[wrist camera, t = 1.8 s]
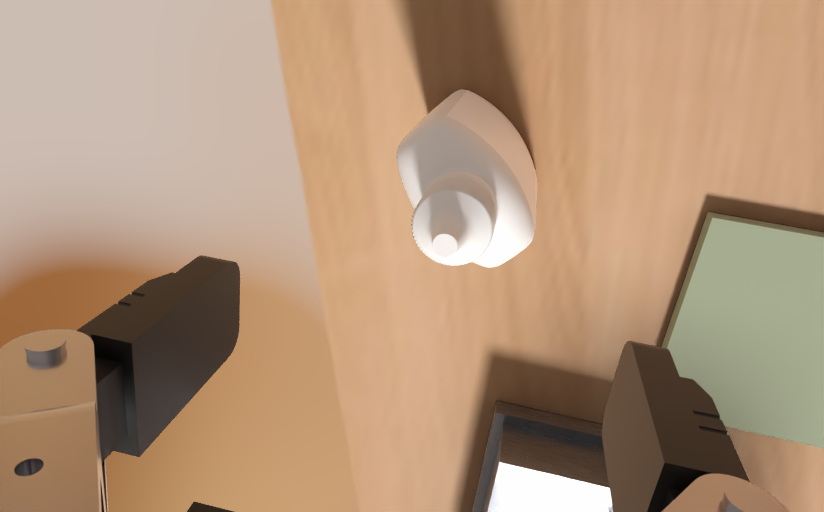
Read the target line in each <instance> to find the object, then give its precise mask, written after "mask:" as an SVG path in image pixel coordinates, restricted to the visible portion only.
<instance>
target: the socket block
mask: <svg viewBox="0 0 824 512" xmlns="http://www.w3.org/2000/svg"><path fill="white" fill-rule="evenodd" d="M472 512H613V509H612V502H611V495H610V488H609V482H608V475H607V468H606V461H605V454H604V448H603V441H602V424H598V423H593V422H589V421H584V420H580V419H576V418H571V417H567V416H562V415H558V414H553V413H549V412H544V411H540V410H536V409H531V408H527V407H522V406H518V405H513V404H509V403H505V402H500V401H497V402H496V406H495V410H494V415H493V419H492V424H491V428H490V433H489V437H488V441H487V446H486V450H485V455H484V459H483V464H482V468H481V472H480V477H479V481H478V486H477V490H476V495H475V499H474V503H473V508H472Z"/></svg>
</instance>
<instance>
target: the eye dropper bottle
mask: <svg viewBox="0 0 824 512" xmlns="http://www.w3.org/2000/svg"><path fill="white" fill-rule="evenodd" d="M396 159H397V164H398V169H399V173H400V176H401V179H402V182H403V185H404V188H405V190H406V193H407V195H408V197H409V199H410V201H411V203H412V205H413V207H414V209H415V211H414V215H413V216H412V217H413V219H412V224H411V225H412V230H413V232H412V233H413V234H414V236H413V237H414V238H415V241H416V242H417V245H418V246H419V248H420V249H421V251H422V252H424V254H426V255H427V257H430V259H433V260H434V261H437V262H438V263H441V264H445V265H450V266H451V265H454V266H455V265H458V266H459V265H460V264H461V265H464V264H467V263H468V262H470V263H471V261H472V262H474V263H476V264H478V265H481V266H483V267H489V268H492V267H496V266H499V265H501V264H503V263H505V262H506V261H508V260H509V259H511V258H513V257H514V256H516V255H517V254H518V253H520V252H521V251H522V250H524V249H525V248H526V247H528V245H529V244H530V243H531V242H532V240H533V238H534V232H535V223H536V205H537V177H536V172H535V168H534V165H533V161H532V159H531V156H530V153H529V151H528V149H527V147H526V145H525V143H524V141H523V139H522V137H521V136H520V134H519V133H518V131H517V130H516V128H515V127H514V126H513V124H512V123H511V122H510V121H509V120H508V119H507V118H506V116H505V115H504V114H503V113H501V112H500V111H499V110H498V109H497V108H496V107H495V106H493V105H492V104H491V103H490V102H488V101H487V100H485V99H484V98H482V97H481V96H479V95H477V94H475V93H473V92H471V91H469V90H463V89H461V90H458V91H456V92H454V93H452V94H451V95H450V96H449V97H447V98H446V99H445V100H444V101H442V102H441V103H440V104H439V105H438V106H436V107H435V108H434V109H433V110H432V111H431V112H430V113H429V114H428V115H427V116H426V117H424V118H423V119H422V120H421V121H420V122H419V123H418V124H417V125H416V126H415V127H414V128H413V129H412V130H411V131H410V132H409V133H408V134H407V136H406V137H405V138H404V139H403V140H402V141H401V143H400V145H399V146H398V148H397V156H396Z"/></svg>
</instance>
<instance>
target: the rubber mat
mask: <svg viewBox="0 0 824 512" xmlns="http://www.w3.org/2000/svg"><path fill="white" fill-rule="evenodd" d="M661 347H662V348H667V349H669V351H670V353H671V356H672V358H673V361H674V363H675V366H676V369H677V371H678V374H679V376H680V377H684V378H689V379H693V380H694V381H695V382H697V383H698V384H699V385H700V386H701V387H702V388H703V389H704V390H705V391H706V392H707V393H708V394H709V395H710V396H711V397H712V399H713V401H714V403H715V406H716V408H717V410H718V412H719V415H720V420H722V421H723V424H724V426H725V427H729V428H733V429H738V430H742V431H747V432H751V433H756V434H760V435H765V436H770V437H774V438H779V439H783V440H788V441H792V442H797V443H801V444H806V445H810V446H815V447H819V448H824V232H819V231H813V230H808V229H802V228H796V227H791V226H785V225H780V224H774V223H768V222H763V221H757V220H751V219H746V218H740V217H735V216H729V215H723V214H718V213H712V212H708V213H707V215H706V218H705V221H704V224H703V227H702V230H701V233H700V236H699V239H698V242H697V245H696V247H695V250H694V253H693V256H692V259H691V262H690V265H689V268H688V271H687V274H686V277H685V279H684V282H683V285H682V288H681V291H680V294H679V297H678V300H677V303H676V306H675V309H674V311H673V314H672V317H671V320H670V323H669V326H668V329H667V332H666V335H665V338H664V341H663V343H662V346H661Z"/></svg>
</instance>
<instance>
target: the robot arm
mask: <svg viewBox="0 0 824 512" xmlns="http://www.w3.org/2000/svg"><path fill="white" fill-rule="evenodd" d="M239 304H240V271H239V266H238V265H237V263H236V262H232V261H227V260H222V259H217V258H212V257H207V256H199V257H197V258H196V259H194V260H193V261H192V262H190V263H189V264H187V265H186V266H184V267H183V268H182V269H180V270H179V271H178V272H176V273H170V274H167V275H164V276H161V277H158V278H155V279H152V280H149V281H147V282H146V283H145V284H143V285H142V286H140V287H139V288H137V289H136V290H134V291H133V292H132V295H130V294H129V295H127V296H126V297H124V298H123V299H121V300H120V301H119V303H118V304H114V305H113V306H111V307H110V308H109V309H107V310H106V311H104V312H103V313H101V314H100V315H98V316H97V317H95V318H94V319H93V320H92V321H90V322H88V323H87V324H85V325H84V326H82V327H81V328H80V329H78V330H77V331H74V330H66V329H54V330H53V329H52V330H43V331H38V332H33V333H29V334H26V335H23V336H21V337H18V338H16V339H14V340H12V341H10V342H8V343H7V344H5V345H4V346H3V347H2V348H1V349H0V512H108V499H107V483H106V467H105V459H106V458H107V456H108V455H109V454H110V453H111V452H112V451H117V452H121V453H125V454H129V455H133V456H137V457H140V456H141V455H142V454H143V452H144V451H145V450H146V449H147V448H148V447H149V446H150V445H151V443H152V442H153V441H154V440H155V439H156V438H157V437H158V436H159V434H160V433H161V432H162V431H163V430H164V429H165V428H166V427H167V426H168V424H169V423H170V422H171V421H172V420H173V419H174V418H175V417H176V415H177V414H178V413H179V412H180V411H181V410H182V409H183V408H184V407H185V405H186V404H187V403H188V402H189V401H190V400H191V399H192V398H193V396H194V395H195V394H196V393H197V392H198V391H199V390H200V389H201V388H202V386H203V385H204V384H205V383H206V382H207V381H208V380H209V379H210V377H211V376H212V375H213V374H214V373H215V372H216V371H217V370H218V368H219V367H220V366H221V365H222V364H223V363H224V362H225V361H226V360H227V358H228V357H229V356H230V355H231V353H232V351H233V349H234V347H235V345H236V342H237V338H238V333H239ZM602 441H603V448H604V454H605V461H606V468H607V475H608V482H609V488H610V495H611V502H612V509H613V512H789V511H788V510H787V509H786V508H785V506H784V505H783V504H781V503H780V502H779V501H778V500H777V499H776V498H775V497H773V496H772V495H771V494H769V493H768V492H766V491H765V490H763V489H762V488H760V487H758V486H756V485H754V484H753V483H750V482H749V480H748V477H747V475H746V473H745V471H744V468H743V466H742V464H741V462H740V459H739V457H738V455H737V453H736V450H735V448H734V446H733V444H732V441H731V439H730V437H729V436H728V435H727V430H726V428H725V426H724V424H723V421H722V420H720V415H719V412H718V410H717V408H716V406H715V403H714V401H713V399H712V397H711V396H710V395H709V394H708V393H707V392H706V391H705V390H704V389H703V388H702V387H701V386H700V385H699V384H698V383H697V382H695V381H694V380H693V379H689V378H684V377H680V376H679V374H678V371H677V369H676V366H675V363H674V361H673V358H672V356H671V353H670V351H669V349H667V348H662V347H657V346H652V345H647V344H642V343H637V342H632V341H628V342H626V344H625V346H624V348H623V350H622V354H621V357H620V360H619V364H618V367H617V370H616V374H615V377H614V380H613V384H612V387H611V390H610V394H609V397H608V400H607V404H606V407H605V411H604V417H603V424H602ZM187 512H233V511H229V510H225V509H221V508H217V507H213V506H209V505H205V504H201V503H198V502H193V504H192V505H191V507H190V508H189V510H188V511H187Z"/></svg>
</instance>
